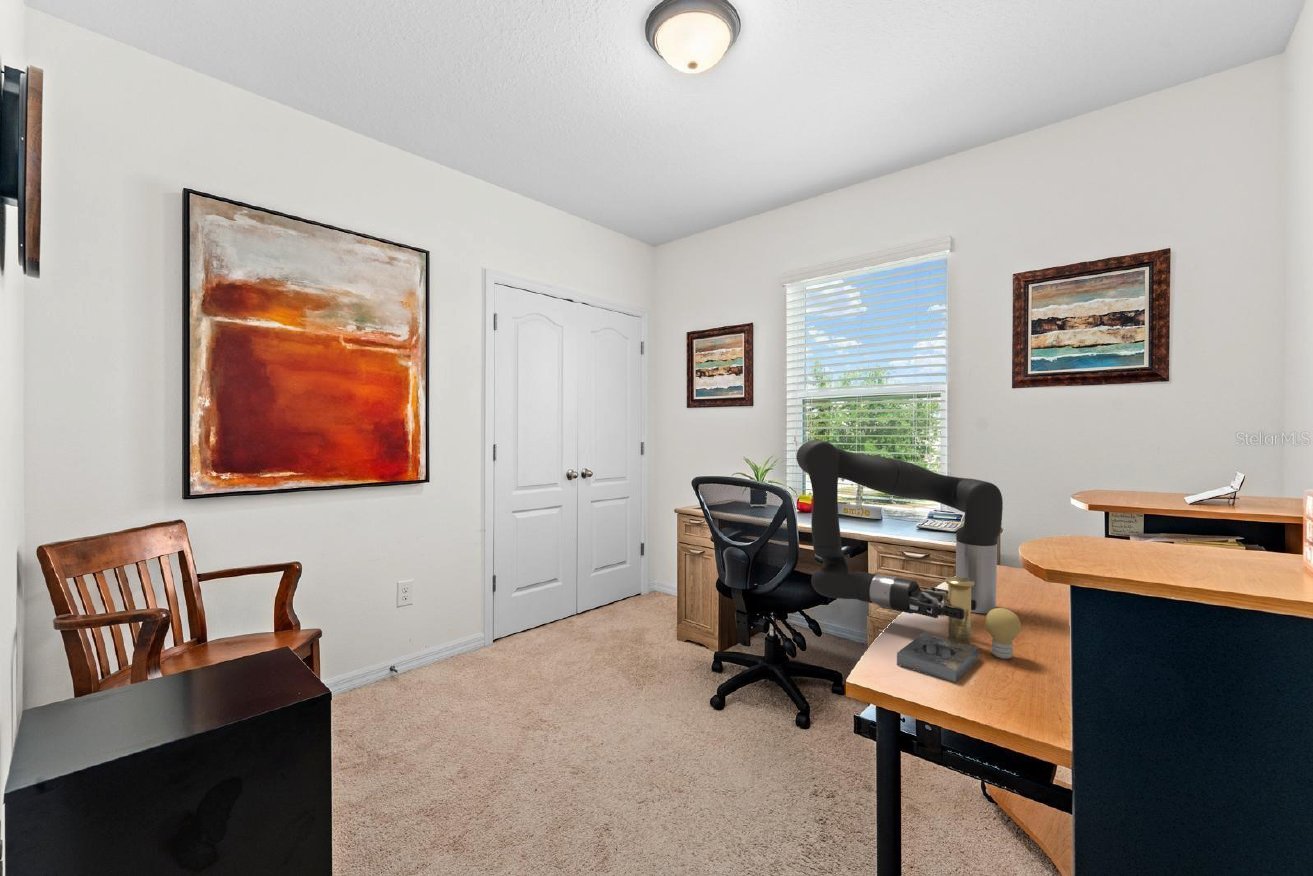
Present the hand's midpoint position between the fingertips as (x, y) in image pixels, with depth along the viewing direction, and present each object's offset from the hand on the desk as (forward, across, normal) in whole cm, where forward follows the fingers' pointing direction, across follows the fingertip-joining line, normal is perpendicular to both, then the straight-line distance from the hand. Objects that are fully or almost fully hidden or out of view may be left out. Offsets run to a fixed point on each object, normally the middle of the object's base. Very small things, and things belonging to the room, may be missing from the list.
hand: (970, 609), depth 123 cm
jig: (-2, -13, +8) cm, 15 cm away
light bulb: (+6, -1, +8) cm, 10 cm away
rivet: (-2, 0, +8) cm, 8 cm away
